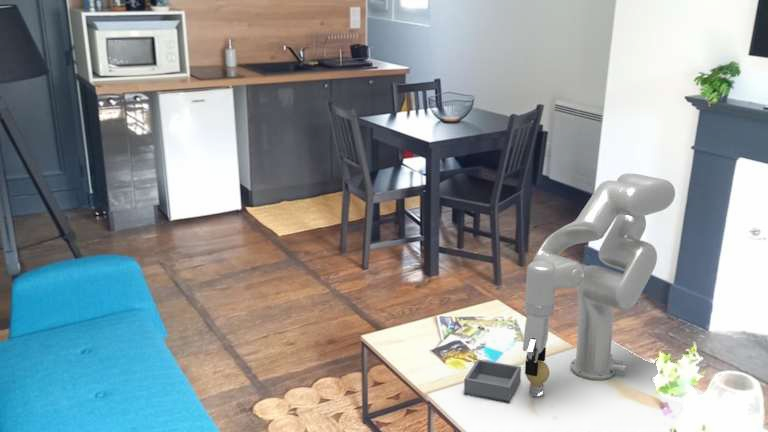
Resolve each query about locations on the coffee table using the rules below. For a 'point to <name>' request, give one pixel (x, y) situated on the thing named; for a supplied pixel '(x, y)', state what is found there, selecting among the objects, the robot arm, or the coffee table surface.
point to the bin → (492, 381)
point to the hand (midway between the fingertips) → (535, 367)
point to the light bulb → (538, 379)
